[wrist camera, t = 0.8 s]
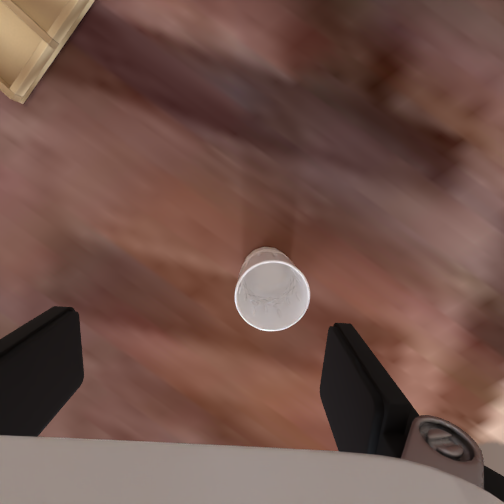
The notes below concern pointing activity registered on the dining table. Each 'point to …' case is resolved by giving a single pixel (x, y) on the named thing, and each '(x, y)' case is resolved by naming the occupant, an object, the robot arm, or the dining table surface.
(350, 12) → the dining table surface
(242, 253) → the dining table surface
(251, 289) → the white cup
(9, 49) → the board
